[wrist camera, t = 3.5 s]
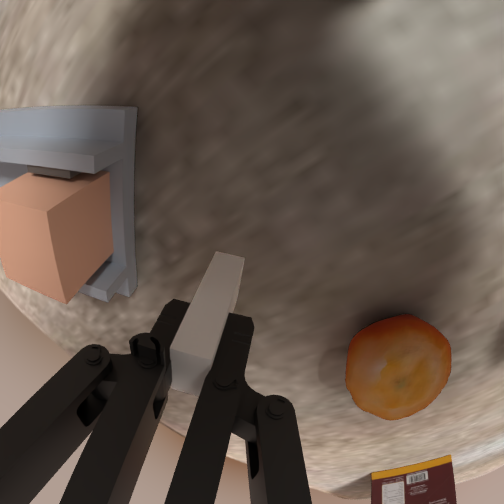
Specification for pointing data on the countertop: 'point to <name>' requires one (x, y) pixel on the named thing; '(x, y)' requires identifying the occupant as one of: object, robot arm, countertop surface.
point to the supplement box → (415, 484)
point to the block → (55, 231)
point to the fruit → (397, 366)
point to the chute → (81, 170)
